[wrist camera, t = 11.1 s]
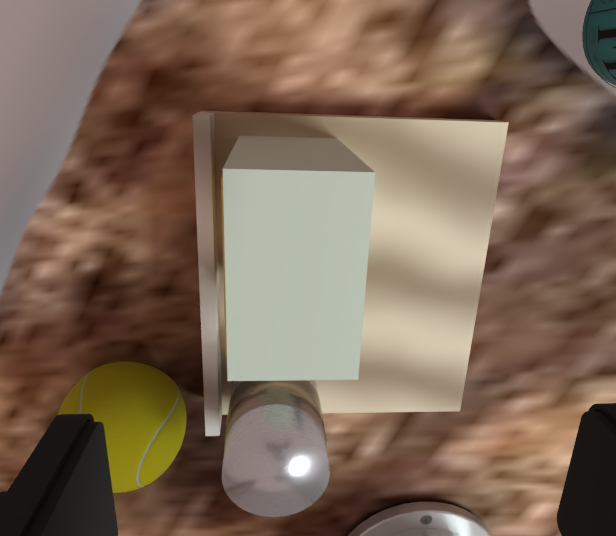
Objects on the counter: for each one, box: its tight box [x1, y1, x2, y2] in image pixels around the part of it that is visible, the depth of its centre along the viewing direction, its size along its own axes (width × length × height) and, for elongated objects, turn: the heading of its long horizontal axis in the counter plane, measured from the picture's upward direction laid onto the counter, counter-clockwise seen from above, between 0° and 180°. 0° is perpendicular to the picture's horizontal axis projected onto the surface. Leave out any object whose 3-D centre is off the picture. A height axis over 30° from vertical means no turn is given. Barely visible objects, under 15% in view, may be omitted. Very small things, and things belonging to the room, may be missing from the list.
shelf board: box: [192, 110, 508, 436], centre depth 29 cm, size 18×16×4 cm
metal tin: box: [222, 380, 330, 517], centre depth 27 cm, size 5×5×8 cm
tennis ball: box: [58, 361, 186, 493], centre depth 29 cm, size 7×7×7 cm
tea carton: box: [221, 136, 375, 381], centre depth 23 cm, size 5×8×10 cm, turn 178°
